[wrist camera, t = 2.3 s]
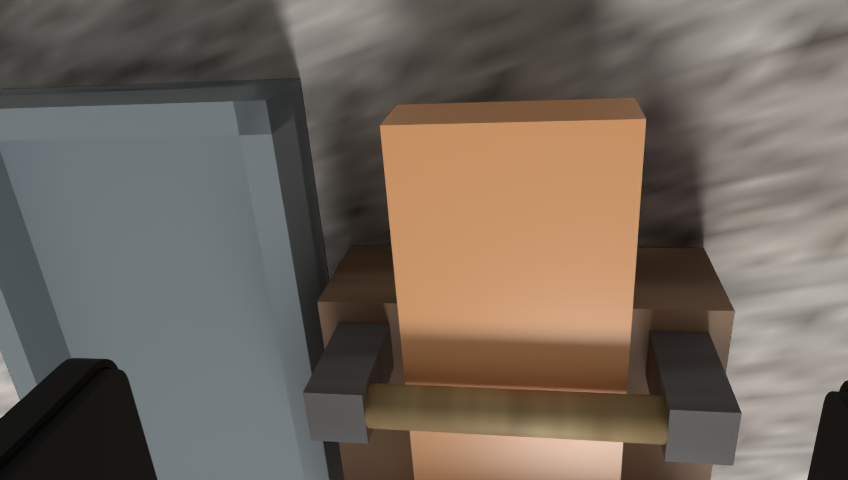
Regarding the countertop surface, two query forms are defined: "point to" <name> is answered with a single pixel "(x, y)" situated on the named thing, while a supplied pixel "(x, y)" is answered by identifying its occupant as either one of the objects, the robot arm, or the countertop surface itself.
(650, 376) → the dispenser
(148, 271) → the tray
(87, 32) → the countertop surface
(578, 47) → the countertop surface
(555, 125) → the orange rectangular block
